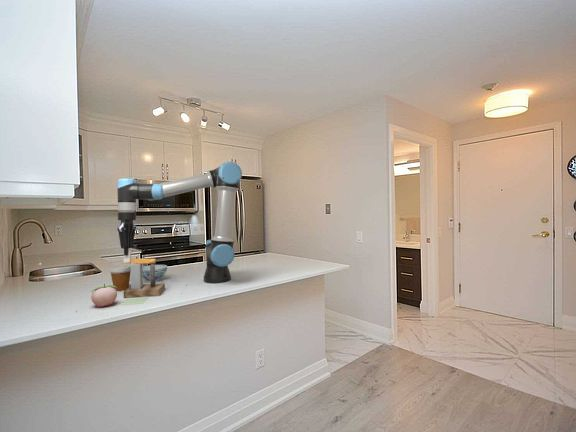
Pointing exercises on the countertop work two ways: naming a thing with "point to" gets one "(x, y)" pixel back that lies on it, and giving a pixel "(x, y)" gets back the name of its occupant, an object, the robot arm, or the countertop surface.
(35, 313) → the countertop surface
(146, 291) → the socket block
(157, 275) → the chinaware
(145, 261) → the clip
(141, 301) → the mat
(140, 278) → the gray square post
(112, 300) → the decorative fruit
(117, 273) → the disposable coffee cup
